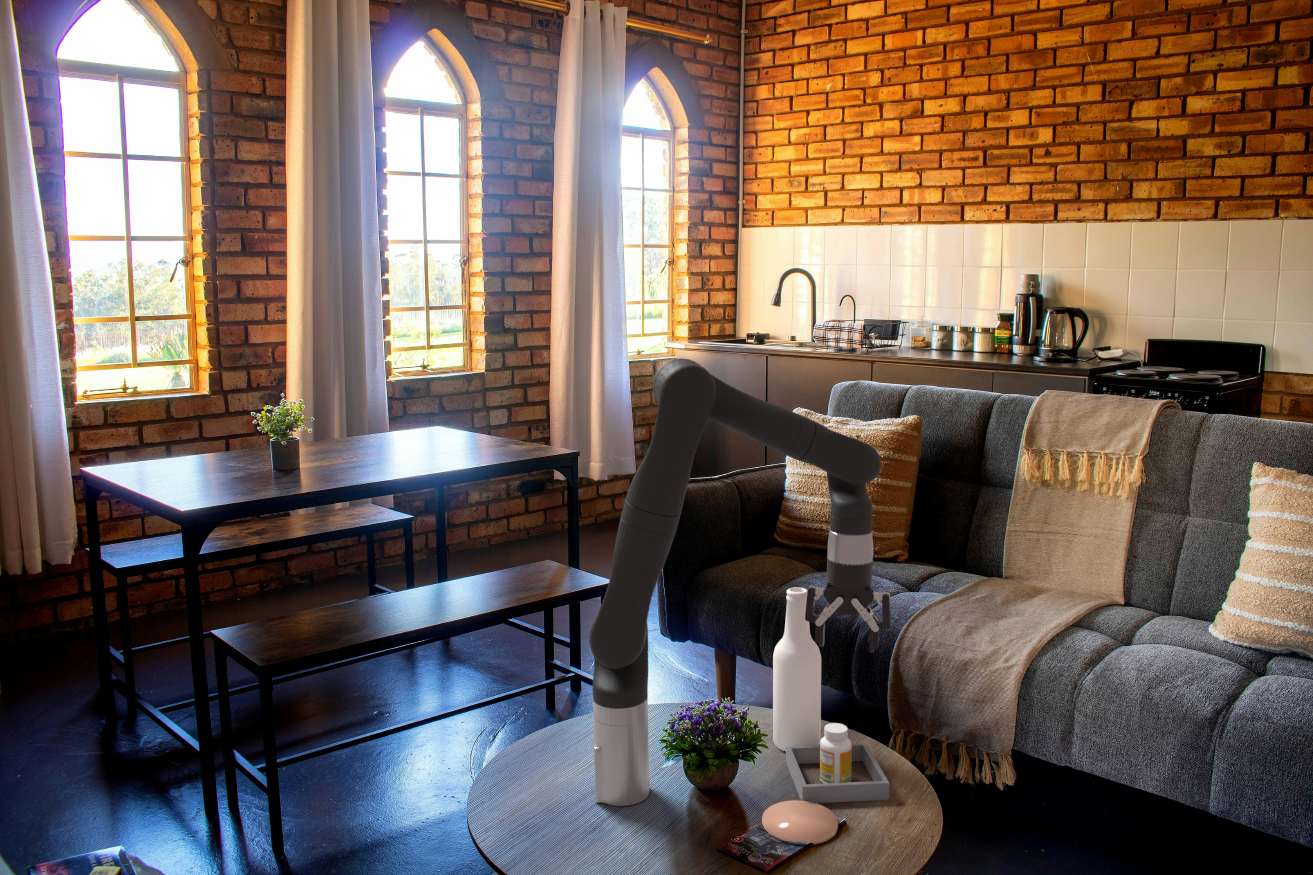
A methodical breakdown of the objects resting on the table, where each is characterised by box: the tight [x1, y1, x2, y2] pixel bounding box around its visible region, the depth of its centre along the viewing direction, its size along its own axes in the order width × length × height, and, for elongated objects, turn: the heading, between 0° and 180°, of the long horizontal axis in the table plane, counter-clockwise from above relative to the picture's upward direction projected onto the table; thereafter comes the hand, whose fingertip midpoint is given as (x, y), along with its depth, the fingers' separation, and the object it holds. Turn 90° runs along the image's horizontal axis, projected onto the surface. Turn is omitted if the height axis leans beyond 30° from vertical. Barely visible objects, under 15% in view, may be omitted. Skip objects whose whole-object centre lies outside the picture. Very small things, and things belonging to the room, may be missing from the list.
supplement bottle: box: [819, 722, 852, 784], centre depth 174 cm, size 5×5×10 cm
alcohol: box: [772, 586, 822, 753], centre depth 186 cm, size 9×9×30 cm
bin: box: [785, 742, 890, 804], centre depth 175 cm, size 15×15×3 cm
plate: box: [761, 799, 839, 845], centre depth 161 cm, size 12×12×1 cm
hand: (846, 647), depth 173 cm, fingers open, 8 cm apart
